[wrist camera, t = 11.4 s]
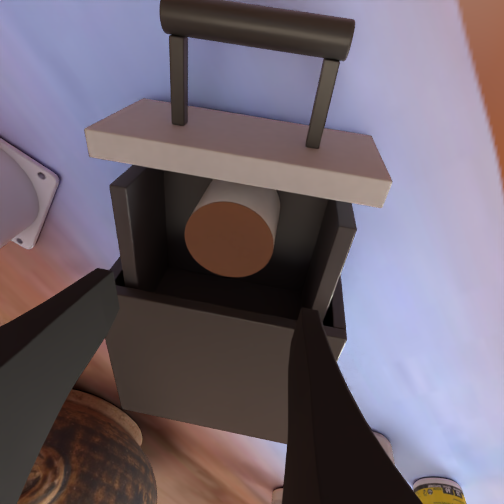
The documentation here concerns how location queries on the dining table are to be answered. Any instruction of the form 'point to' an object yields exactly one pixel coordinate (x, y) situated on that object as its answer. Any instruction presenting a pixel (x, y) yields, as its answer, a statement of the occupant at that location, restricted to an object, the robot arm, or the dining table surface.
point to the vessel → (91, 458)
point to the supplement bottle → (438, 491)
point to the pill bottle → (277, 496)
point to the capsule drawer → (240, 167)
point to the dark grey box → (207, 360)
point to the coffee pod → (233, 228)
